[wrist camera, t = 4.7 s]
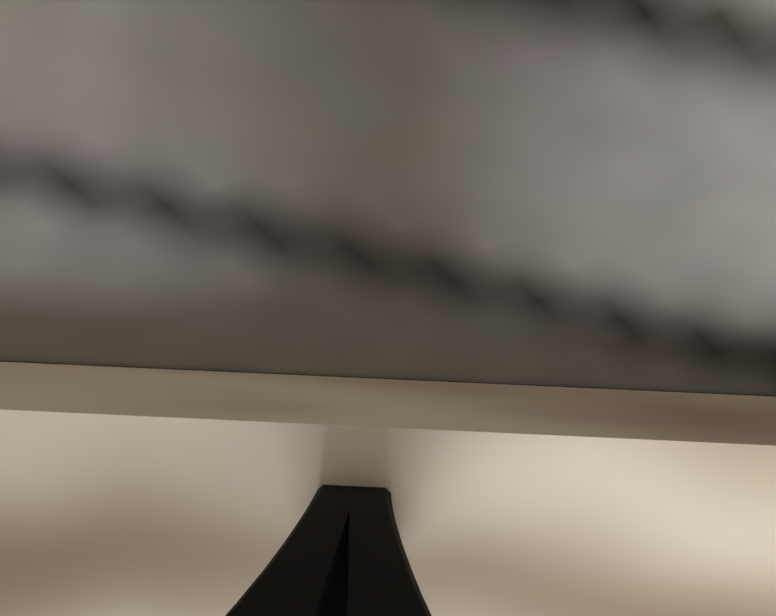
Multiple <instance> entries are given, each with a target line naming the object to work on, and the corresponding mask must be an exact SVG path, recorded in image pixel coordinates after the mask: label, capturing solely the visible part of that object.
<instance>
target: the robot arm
mask: <svg viewBox="0 0 776 616" xmlns="http://www.w3.org/2000/svg"><path fill="white" fill-rule="evenodd" d="M225 616H432V615H431V613H430V611H429V609H428V607H427V604H426V602H425V600H424V598H423V596H422V593H421V591H420V589H419V586H418V584H417V581H416V579H415V576H414V574H413V571H412V569H411V566H410V563H409V561H408V558H407V555H406V553H405V550H404V547H403V544H402V541H401V538H400V534H399V531H398V528H397V524H396V520H395V516H394V512H393V506H392V500H391V492H390V491H389V490H388V489H387V488H383V487H362V486H341V485H323V486H321V487H320V488H319V489H318V490H317V492H316V494H315V496H314V497H313V499H312V501H311V502H310V504H309V506H308V507H307V509H306V511H305V512H304V514H303V515H302V517H301V519H300V520H299V521H298V523H297V524H296V526H295V527H294V529H293V530H292V532H291V533H290V535H289V536H288V538H287V539H286V540H285V542H284V543H283V544H282V546H281V547H280V548H279V550H278V551H277V553H276V554H275V555H274V557H273V558H272V559H271V561H270V562H269V563H268V565H267V566H266V567H265V569H264V570H263V571H262V572H261V574H260V575H259V576H258V577H257V578H256V580H255V581H254V582H253V583H252V585H251V586H250V587H249V588H248V589H247V591H246V592H245V593H244V594H243V595H242V597H241V598H240V599H239V600H238V602H237V603H236V604H235V605H234V606H233V607H232V609H231V610H230V611H229V612H228V613H227V614H226V615H225Z"/></svg>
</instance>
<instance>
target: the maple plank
mask: <svg viewBox="0 0 776 616" xmlns="http://www.w3.org/2000/svg"><path fill="white" fill-rule="evenodd" d="M323 485H341V486H362V487H383V488H387V489H388V490H389V491H390V492H391V500H392V506H393V512H394V516H395V520H396V524H397V528H398V531H399V534H400V538H401V541H402V544H403V547H404V550H405V553H406V555H407V558H408V561H409V563H410V566H411V569H412V571H413V574H414V576H415V579H416V581H417V584H418V586H419V589H420V591H421V593H422V596H423V598H424V600H425V602H426V604H427V607H428V609H429V611H430V613H431V615H432V616H776V397H772V396H750V395H727V394H705V393H683V392H661V391H639V390H617V389H594V388H572V387H550V386H528V385H506V384H483V383H461V382H439V381H417V380H395V379H372V378H350V377H328V376H306V375H284V374H262V373H239V372H217V371H195V370H173V369H151V368H128V367H106V366H84V365H62V364H40V363H18V362H0V616H225V615H226V614H227V613H228V612H229V611H230V610H231V609H232V607H233V606H234V605H235V604H236V603H237V602H238V600H239V599H240V598H241V597H242V595H243V594H244V593H245V592H246V591H247V589H248V588H249V587H250V586H251V585H252V583H253V582H254V581H255V580H256V578H257V577H258V576H259V575H260V574H261V572H262V571H263V570H264V569H265V567H266V566H267V565H268V563H269V562H270V561H271V559H272V558H273V557H274V555H275V554H276V553H277V551H278V550H279V548H280V547H281V546H282V544H283V543H284V542H285V540H286V539H287V538H288V536H289V535H290V533H291V532H292V530H293V529H294V527H295V526H296V524H297V523H298V521H299V520H300V519H301V517H302V515H303V514H304V512H305V511H306V509H307V507H308V506H309V504H310V502H311V501H312V499H313V497H314V496H315V494H316V492H317V490H318V489H319V488H320V487H321V486H323Z"/></svg>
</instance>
